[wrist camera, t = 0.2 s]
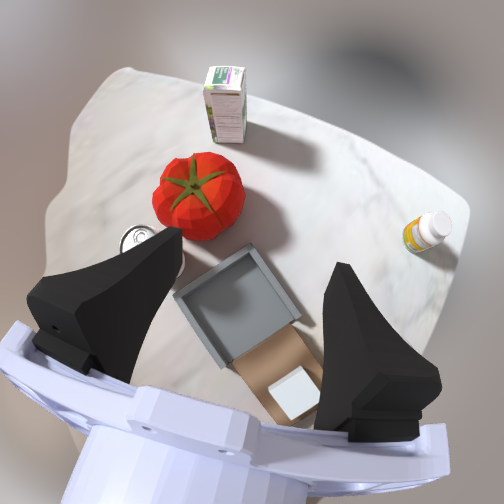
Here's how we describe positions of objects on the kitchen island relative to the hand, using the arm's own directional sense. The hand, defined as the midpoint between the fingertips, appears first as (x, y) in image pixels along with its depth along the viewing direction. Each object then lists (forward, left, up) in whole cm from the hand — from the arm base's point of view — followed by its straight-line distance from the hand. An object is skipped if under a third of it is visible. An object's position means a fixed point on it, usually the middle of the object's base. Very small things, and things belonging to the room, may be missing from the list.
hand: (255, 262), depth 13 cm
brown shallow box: (-11, -7, -31) cm, 34 cm away
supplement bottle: (+14, -26, -31) cm, 43 cm away
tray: (-2, +3, -31) cm, 31 cm away
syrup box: (+28, +10, -31) cm, 44 cm away
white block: (-13, -8, -27) cm, 31 cm away
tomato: (+12, +11, -32) cm, 36 cm away
